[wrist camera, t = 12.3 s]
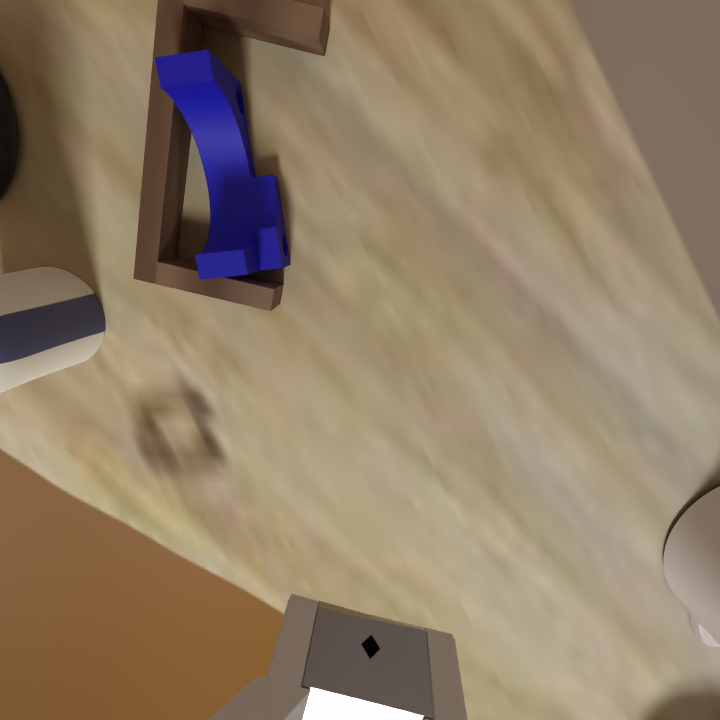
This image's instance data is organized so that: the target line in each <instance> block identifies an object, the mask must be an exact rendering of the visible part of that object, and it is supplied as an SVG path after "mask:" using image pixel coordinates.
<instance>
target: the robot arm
mask: <svg viewBox="0 0 720 720" xmlns="http://www.w3.org/2000/svg"><path fill="white" fill-rule="evenodd" d="M663 566H664V573H665V577H666V581H667V583H668V585H669V587H670V589H671V591H672V592H673V594H674V595H675V596H676V597H677V598H678V600H679V601H680V602H681V603H682V604H683V605H684V606H685V607H686V608H687V610H688V611H689V613H690V619H691V623H692V627H693V630H694V632H695V633H696V635H697V636H698V637H699V638H700V639H701V640H702V641H703V642H704V643H705V644H707V645H709V646H713V647H720V486H719V487H717V488H715V489H713V490H712V491H710V492H708V493H707V494H705V495H704V496H703V497H701V498H700V499H698V500H697V501H696V502H695V503H694V504H693V505H691V506H690V507H689V508H688V509H687V510H686V511H685V512H684V514H683V515H682V516H681V517H680V519H679V520H678V521H677V523H676V524H675V526H674V527H673V529H672V531H671V533H670V535H669V537H668V540H667V543H666V546H665V551H664V558H663ZM209 720H467V715H466V709H465V702H464V696H463V689H462V683H461V676H460V670H459V663H458V657H457V650H456V644H455V639H454V637H453V636H452V634H449V633H445V632H441V631H437V630H432V629H428V628H423V627H420V626H415V625H411V624H407V623H403V622H399V621H395V620H391V619H386V618H382V617H378V616H374V615H368V614H365V613H361V612H358V611H354V610H350V609H347V608H343V607H340V606H336V605H333V604H329V603H325V602H322V601H319V602H318V601H316V600H312V599H309V598H305V597H302V596H298V595H295V594H291V596H290V598H289V600H288V604H287V607H286V611H285V614H284V618H283V622H282V625H281V629H280V632H279V636H278V639H277V643H276V646H275V650H274V653H273V657H272V660H271V664H270V667H269V671H268V674H267V678H263V677H258V676H257V677H256V678H255V679H254V680H253V681H252V682H251V683H249V684H248V685H247V686H246V687H245V688H244V689H243V690H242V691H241V692H239V693H238V694H237V695H236V696H235V697H234V698H233V699H232V700H230V701H229V702H228V703H227V704H226V705H225V706H224V707H222V708H221V709H220V710H219V711H218V712H217V713H216V714H215V715H213V716H212V717H211V718H210V719H209Z"/></svg>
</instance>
